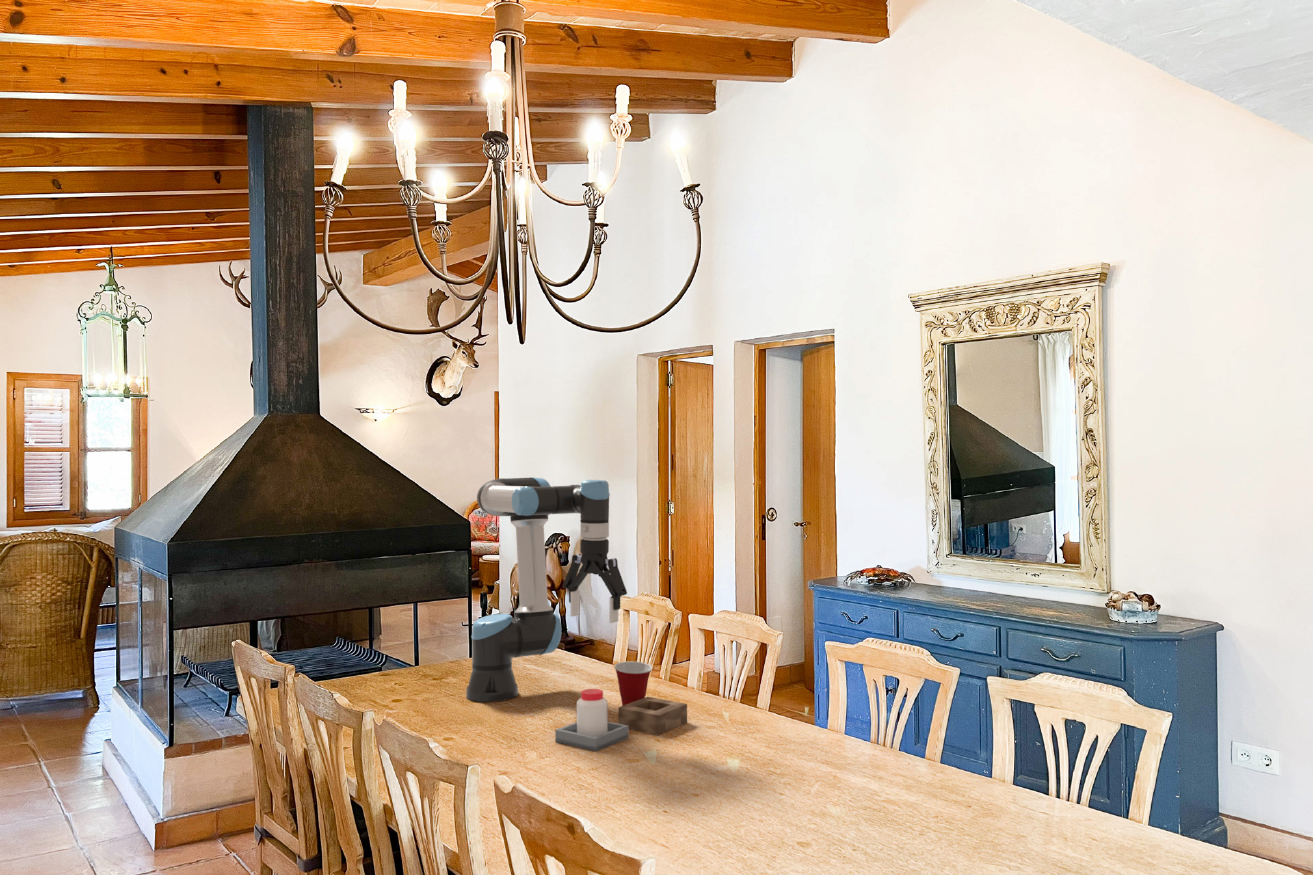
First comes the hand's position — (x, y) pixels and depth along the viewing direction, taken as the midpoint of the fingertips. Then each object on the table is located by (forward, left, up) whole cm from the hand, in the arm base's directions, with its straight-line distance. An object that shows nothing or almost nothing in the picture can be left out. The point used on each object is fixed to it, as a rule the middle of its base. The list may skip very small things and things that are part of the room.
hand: (594, 618), depth 244 cm
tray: (+7, -10, -28) cm, 31 cm away
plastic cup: (-2, +19, -28) cm, 34 cm away
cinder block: (+12, +9, -28) cm, 32 cm away
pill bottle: (+7, -10, -27) cm, 30 cm away
